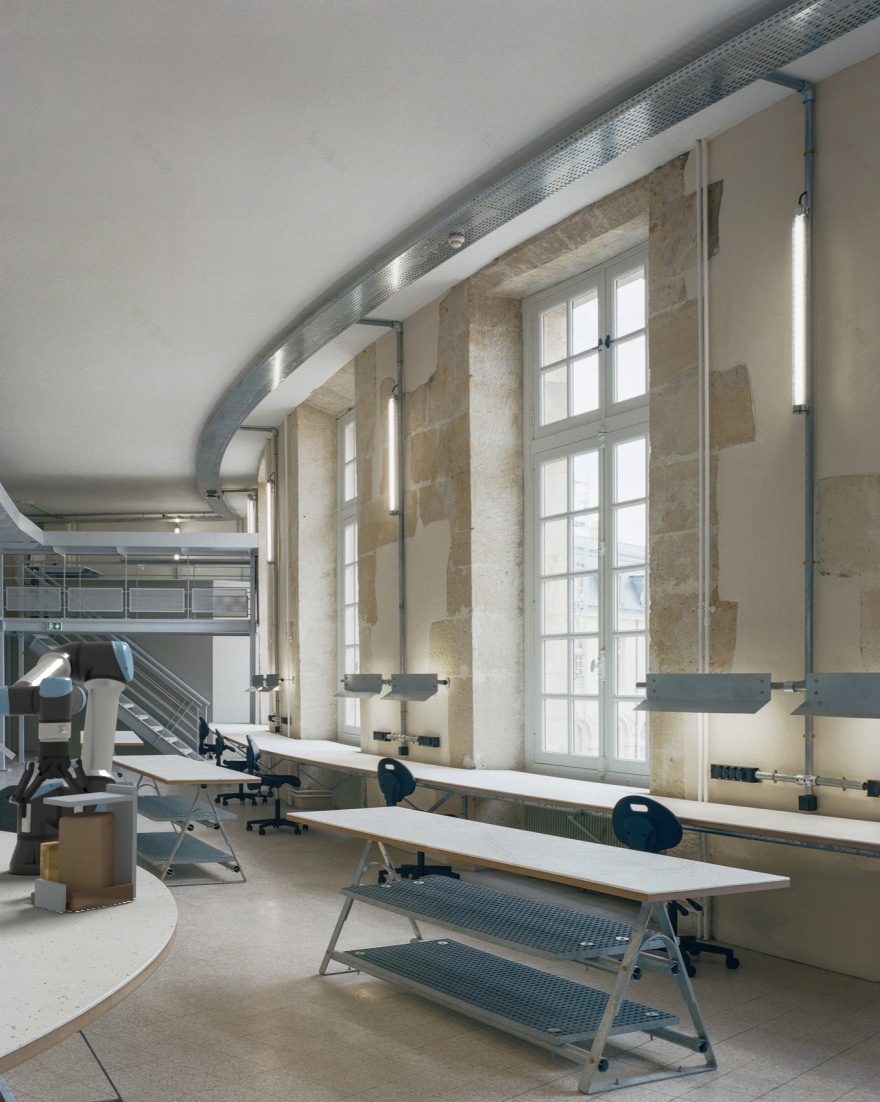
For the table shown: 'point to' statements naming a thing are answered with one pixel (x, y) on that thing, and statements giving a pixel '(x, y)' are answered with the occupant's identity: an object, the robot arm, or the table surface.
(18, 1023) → the table surface
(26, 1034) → the table surface
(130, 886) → the pull yoke
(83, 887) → the wooden block
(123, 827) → the shelf
